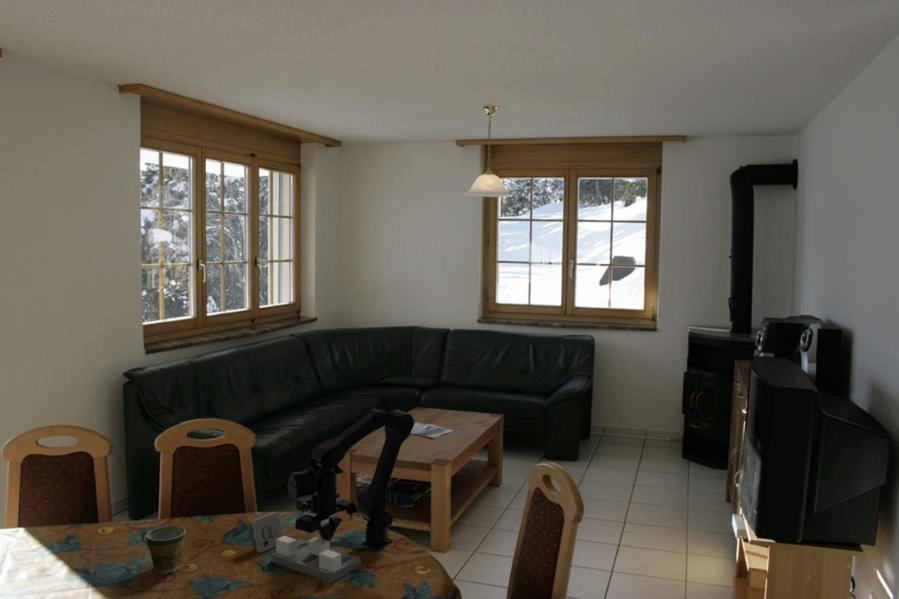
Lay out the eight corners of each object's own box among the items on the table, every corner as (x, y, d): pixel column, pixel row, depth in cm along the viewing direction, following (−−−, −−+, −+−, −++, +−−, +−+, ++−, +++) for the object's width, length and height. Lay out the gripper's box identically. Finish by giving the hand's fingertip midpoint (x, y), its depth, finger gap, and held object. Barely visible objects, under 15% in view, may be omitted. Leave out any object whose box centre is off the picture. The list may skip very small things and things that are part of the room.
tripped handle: (316, 548, 212) (316, 536, 212) (329, 553, 210) (329, 541, 209) (308, 552, 210) (308, 540, 209) (322, 557, 207) (322, 544, 207)
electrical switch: (259, 554, 214) (256, 522, 214) (247, 551, 218) (245, 519, 217) (285, 543, 222) (283, 512, 221) (274, 540, 225) (271, 509, 224)
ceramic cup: (194, 563, 208) (193, 528, 207) (170, 579, 199) (168, 542, 198) (155, 556, 213) (154, 521, 212) (129, 571, 203) (128, 535, 202)
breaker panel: (302, 546, 220) (301, 526, 219) (360, 565, 208) (360, 544, 207) (271, 561, 210) (270, 540, 209) (330, 582, 198) (330, 560, 197)
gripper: (327, 475, 223) (328, 527, 224) (280, 494, 207) (281, 549, 209) (356, 483, 216) (356, 536, 218) (310, 503, 201) (310, 560, 203)
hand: (326, 545), depth 212 cm, fingers closed
